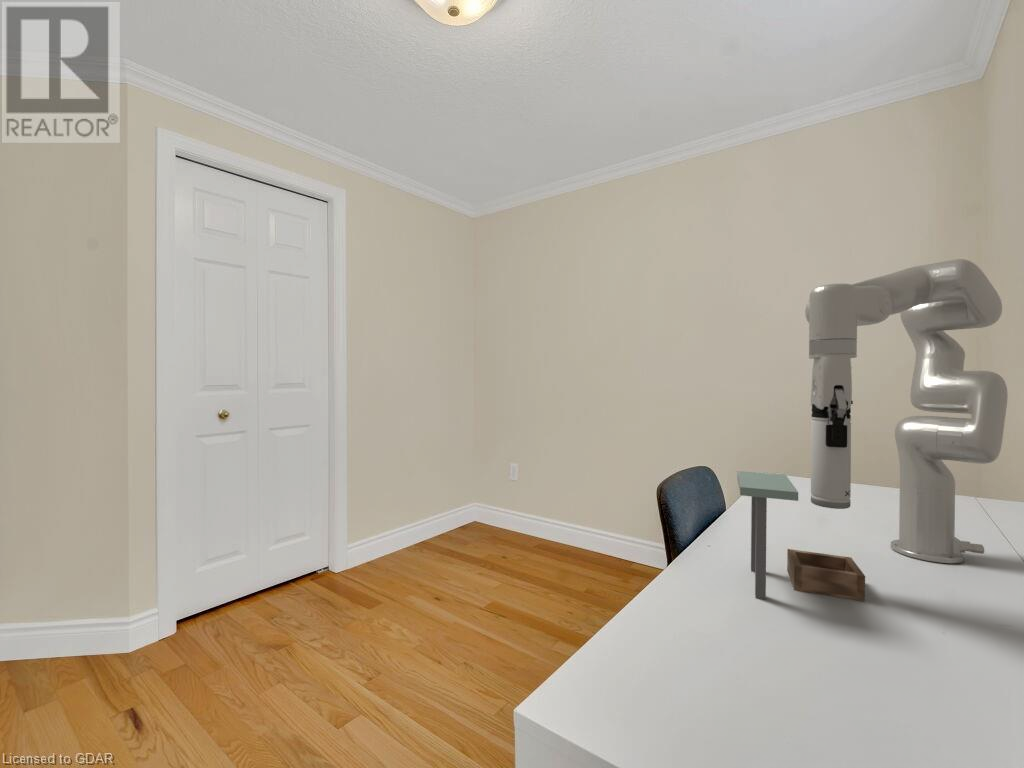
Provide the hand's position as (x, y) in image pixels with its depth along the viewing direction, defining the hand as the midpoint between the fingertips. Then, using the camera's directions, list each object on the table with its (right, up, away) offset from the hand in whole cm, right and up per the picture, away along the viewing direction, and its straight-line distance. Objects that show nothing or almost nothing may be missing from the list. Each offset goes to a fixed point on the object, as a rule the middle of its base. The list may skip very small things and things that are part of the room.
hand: (831, 443), depth 89 cm
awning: (-13, -27, +2) cm, 30 cm away
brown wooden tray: (-1, -27, +1) cm, 27 cm away
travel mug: (0, -12, 0) cm, 12 cm away
